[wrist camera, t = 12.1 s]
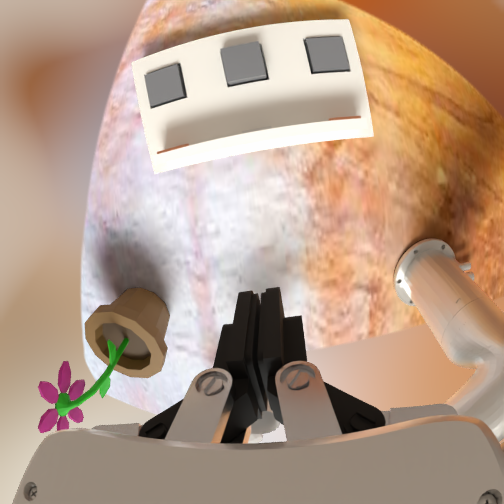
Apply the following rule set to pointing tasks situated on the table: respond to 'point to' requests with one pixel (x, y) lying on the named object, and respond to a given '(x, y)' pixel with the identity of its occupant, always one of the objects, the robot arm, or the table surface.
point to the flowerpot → (112, 352)
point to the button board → (253, 97)
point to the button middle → (243, 63)
